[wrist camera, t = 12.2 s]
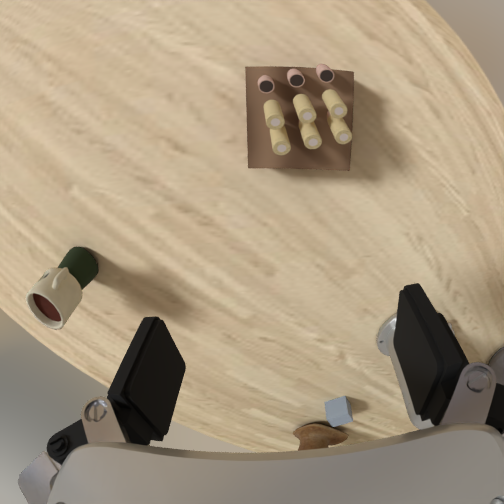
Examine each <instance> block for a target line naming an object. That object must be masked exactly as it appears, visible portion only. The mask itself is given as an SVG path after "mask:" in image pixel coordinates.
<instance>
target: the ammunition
mask: <svg viewBox="0 0 504 504" xmlns="http://www.w3.org/2000/svg"><path fill="white" fill-rule="evenodd" d="M316 73H317V75H318V77H319V79H320V80H321V81H322V82H325V83H328V82H331V81H332V80H333V79H334V73H333V71H332V70H331V69H330V68H329V67H328V66H326V65H324V64H319V65H318V66H317V67H316ZM287 78H288V81H289V83H290V85H291V86H293V87H300V86H302V85H303V84H304V82H305V79H304V77H303V75H302V73H301V72H300V71H299V70H297V69H290V70H289V71H288V73H287ZM258 87H259V90H260V91H261V92H263V93H270V92H272V91H273V90H274V82H273V79H272V78H271V77H270V76H267V75H262V76H261V77H260V78H259V79H258ZM322 99H323V101H324V103H325V105H326V106H327V108H328V110H329V111H328V112H327V122H328V125H329V127H330V129H331V131H332V133H333V135H334V138H335V140H336V141H337V142H338V143H339V144H346V143H348V142H350V141H351V139H352V133H351V131H350V130H349V128H348V126H347V124H346V123H345V121H344V119H343V118H342V117H344V116H345V115H346V114H347V107H346V105H345V104H344V102H343V101H342V99H341V98H340V96H339V95H338V94H337V92H336V91H335V90H332V89H329V90H326V91H324V93H323V94H322ZM293 104H294V107H295V109H296V112H297V115H298V118H299V129H300V132H301V135H302V138H303V141H304V145H305V146H306V147H307V148H308V149H316V148H318V147H319V146H320V145H321V144H322V139H321V137H320V134H319V132H318V130H317V127H316V125H315V123H314V120H315V119H316V112H315V110H314V108H313V106H312V104H311V102H310V100H309V98H308V96H306V95H305V94H298V95H296V96H295V97H294V99H293ZM264 113H265V119H266V125H267V126H268V127H269V128H270V136H271V142H272V148H273V151H274V153H275V154H277V155H285V154H287V153H288V152H289V151H290V149H291V146H290V142H289V138H288V135H287V131H286V128H285V126H284V123H285V120H284V117H283V113H282V110H281V107H280V104H279V102H278V101H276V100H268V101H267V102H265V104H264Z"/></svg>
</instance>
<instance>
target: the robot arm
mask: <svg viewBox="0 0 504 504" xmlns="http://www.w3.org/2000/svg"><path fill="white" fill-rule="evenodd" d="M377 345H378V348H379V350H380V352H382V353H383V354H384V355H387V356H390V358H391V361H392V364H393V367H394V370H395V373H396V376H397V379H398V382H399V386H400V389H401V392H402V395H403V399H404V402H405V406H406V409H407V413H408V416H409V419H410V421H411V422H412V424H413V425H414V426H415V427H417V428H418V429H420V430H417V431H413V432H409V433H405V434H401V435H396V436H392V437H387V438H382V439H377V440H372V441H367V442H362V443H356V444H350V445H344V446H337V447H329V448H321V449H311V450H300V451H287V452H265V453H228V452H205V451H190V450H179V449H170V448H162V447H153V446H150V445H149V444H150V440H155V441H163V437H164V435H166V434H167V433H168V430H169V426H170V423H171V419H172V415H173V412H174V408H175V405H176V401H177V397H178V394H179V390H180V387H181V383H182V380H183V376H184V373H185V369H186V366H185V362H184V360H183V358H182V356H181V354H180V352H179V350H178V349H177V347H176V345H175V343H174V341H173V339H172V337H171V335H170V333H169V331H168V329H167V327H166V325H165V323H164V321H163V320H160V318H159V317H145V318H144V319H143V320H142V322H141V324H140V326H139V328H138V330H137V332H136V334H135V336H134V338H133V340H132V342H131V344H130V346H129V348H128V350H127V352H126V354H125V356H124V358H123V361H122V363H121V365H120V367H119V369H118V371H117V373H116V375H115V378H114V380H113V382H112V384H111V386H110V388H109V391H108V396H107V398H105V397H101V396H100V397H95V398H92V399H90V400H89V401H88V402H87V403H86V404H85V405H84V407H83V408H82V412H81V418H82V419H80V420H79V421H77V422H75V423H73V424H72V425H70V426H68V427H66V428H65V429H63V430H61V431H59V432H58V433H56V434H55V435H53V436H52V437H51V438H50V439H49V442H48V444H47V452H45V451H43V452H42V453H41V454H40V455H39V456H38V457H37V458H36V459H35V460H34V461H33V462H32V463H31V464H30V465H29V466H27V468H25V469H24V470H23V471H22V472H21V474H20V476H19V479H18V484H19V487H20V489H21V491H22V493H23V495H24V496H25V498H26V500H27V501H28V503H29V504H504V385H502V384H499V383H497V382H496V375H495V373H494V371H493V369H492V368H491V367H489V366H488V365H486V364H484V363H480V362H475V363H471V364H469V362H468V360H467V358H466V356H465V354H464V352H463V350H462V349H461V347H460V345H459V343H458V341H457V339H456V337H455V334H454V330H453V329H452V325H451V323H447V321H446V319H445V318H444V316H443V315H442V314H441V313H437V312H436V310H435V309H434V307H433V305H432V304H431V302H430V300H429V299H428V297H427V295H426V294H425V292H424V290H423V289H422V287H421V286H420V284H418V283H417V284H411V285H406V286H404V289H403V290H401V291H400V293H399V302H398V310H397V313H396V314H394V315H393V316H391V317H390V318H389V319H388V320H387V321H386V322H385V323H384V324H383V325H382V327H381V328H380V330H379V332H378V335H377Z"/></svg>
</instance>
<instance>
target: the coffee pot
mask: <svg viewBox="0 0 504 504" xmlns="http://www.w3.org/2000/svg"><path fill="white" fill-rule="evenodd" d="M489 367H491V368H492V369H493V371H494V373H495V375H496V382H497V383H499V384H502V385H504V347H503V348H502V349H500V350H499V351H498V352H497V353H495V354H494V356H493V357H492V358H491V360H490V363H489Z"/></svg>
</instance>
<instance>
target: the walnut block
mask: <svg viewBox="0 0 504 504" xmlns="http://www.w3.org/2000/svg"><path fill="white" fill-rule="evenodd" d="M245 68H246V105H247V142H248V168H297V169H328V170H348V171H349V170H350V157H351V142H352V139H351V141H350V142H348V143H346V144H339V143H338V142H337V141H336V140H335V138H334V135H333V133H332V131H331V129H330V127H329V125H328V122H327V112H328V111H329V110H328V108H327V106H326V105H325V103H324V101H323V99H322V94H323V93H324V91H326V90H329V89H332V90H335V91H336V92H337V94H338V95H339V96H340V98H341V99H342V101H343V102H344V104H345V105H346V107H347V114H346V115H345V116H344V117H342V118H343V119H344V121H345V123H346V124H347V126H348V128H349V130H350V131H351V133H352V123H353V91H354V72H351V71H342V70H332V69H331V70H332V71H333V73H334V79H333V80H332V81H331V82H328V83H325V82H322V81H321V80H320V79H319V77H318V75H317V73H316V68H304V67H245ZM290 69H297V70H299V71H300V72H301V73H302V75H303V77H304V79H305V82H304V84H303V85H302V86H300V87H293V86H291V85H290V83H289V81H288V78H287V73H288V71H289V70H290ZM262 75H267V76H270V77H271V78H272V79H273V82H274V90H273V91H272V92H270V93H263V92H261V91H260V90H259V87H258V79H259V78H260V77H261V76H262ZM298 94H305V95H306V96H308V98H309V100H310V102H311V104H312V106H313V108H314V110H315V112H316V119H315V120H314V123H315V125H316V127H317V130H318V132H319V134H320V137H321V139H322V144H321V145H320V146H319V147H318V148H316V149H308V148H307V147H306V146H305V145H304V141H303V138H302V135H301V132H300V129H299V118H298V115H297V112H296V109H295V107H294V104H293V99H294V97H295V96H296V95H298ZM268 100H276V101H278V102H279V104H280V107H281V110H282V113H283V117H284V120H285V123H284V126H285V128H286V131H287V135H288V138H289V142H290V146H291V149H290V151H289V152H288V153H287V154H285V155H277V154H275V153H274V151H273V148H272V142H271V136H270V128H269V127H268V126H267V125H266V119H265V113H264V104H265V102H267V101H268Z"/></svg>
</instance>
